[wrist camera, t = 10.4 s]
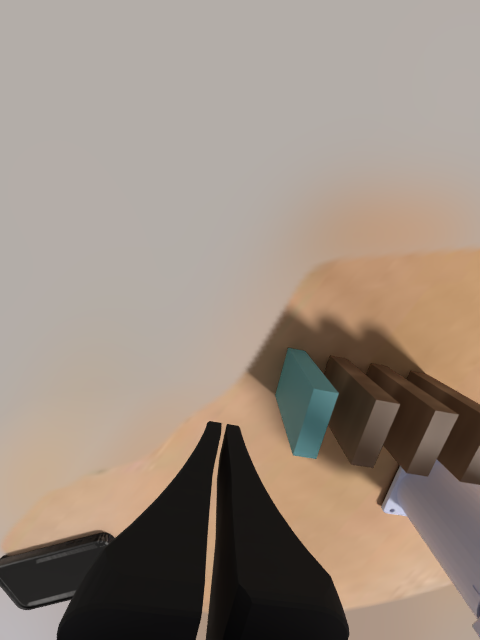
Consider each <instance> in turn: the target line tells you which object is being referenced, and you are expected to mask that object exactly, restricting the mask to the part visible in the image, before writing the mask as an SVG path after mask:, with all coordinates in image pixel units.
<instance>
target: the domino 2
mask: <svg viewBox="0 0 480 640" xmlns="http://www.w3.org/2000/svg"><path fill="white" fill-rule="evenodd" d="M366 376H368V377H369V378H370V379H371V380H372V381H373V382H375V383H376V384H377V385H378V386H379V387H381V388H382V389H383V390H384V391H385V392H387V393H388V394H389V395H390V396H391V397H392V398H394V399H395V400H396V401H397V402H398V403H400V406H399V408H398V411H397V413H396V416H395V418H394V420H393V423H392V425H391V427H390V430H389V432H388V434H387V437H386V439H385V442H384V444H383V445H384V447H385V448H386V449H387V450H388V451H389V453H390V454H391V455H392V456H393V458H394V459H395V460H396V461H397V462H398V464H399V465H400V466H401V467H402V469H403V470H404V471H405V472H406V473H408V474H414V475H421V476H427V477H428V476H429V474H430V472H431V470H432V468H433V466H434V464H435V462H436V460H437V458H438V456H439V454H440V452H441V450H442V448H443V446H444V444H445V442H446V440H447V438H448V436H449V434H450V432H451V430H452V428H453V426H454V424H455V422H456V420H457V418H458V416H459V414H457V413H456V412H454V411H453V410H451V409H450V408H448V407H447V406H445V405H444V404H442V403H441V402H439V401H438V400H436V399H435V398H433V397H432V396H430V395H429V394H427V393H426V392H424V391H423V390H421V389H420V388H418V387H417V386H415V385H414V384H412V383H411V382H409V381H408V380H406V379H405V378H403V377H402V376H400V375H399V374H397V373H396V372H394V371H393V370H391V369H390V368H388V367H387V366H382V365H377V364H372V363H371V364H370V367H369V369H368V372H367V375H366Z"/></svg>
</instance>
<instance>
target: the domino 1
mask: <svg viewBox="0 0 480 640" xmlns="http://www.w3.org/2000/svg"><path fill="white" fill-rule="evenodd" d="M324 375H325V377H326V378H327V379H328V380H329V382H330V383H331V384H332V385H333V387H334V388H335V389H336V390H337V392H338V393H339V394H338V397H337V400H336V403H335V406H334V409H333V412H332V415H331V417H330V420H329V423H328V425H329V427H330V429H331V431H332V432H333V434H334V436H335V438H336V439H337V441H338V443H339V445H340V446H341V448H342V450H343V451H344V453H345V455H346V457H347V458H348V460H349V462H350V464H352V465H358V466H364V467H371V468H373V467H374V465H375V463H376V460H377V458H378V456H379V453H380V451H381V449H382V446H383V444H384V442H385V439H386V437H387V434H388V432H389V430H390V427H391V425H392V423H393V420H394V418H395V416H396V413H397V411H398V408H399V406H400V403H398V402H397V401H396V400H395V399H394V398H392V397H391V396H390V395H389V394H388V393H387V392H385V391H384V390H383V389H382V388H381V387H379V386H378V385H377V384H376V383H375V382H373V381H372V380H371V379H370V378H369V377H368V376H366V375H365V374H364V373H363V372H362V371H360V370H359V369H358V368H357V367H356V366H355V365H353V364H352V363H351V362H350V361H349V360H347V359H345V358H340V357H335V356H330V358H329V361H328V364H327V367H326V370H325V373H324Z"/></svg>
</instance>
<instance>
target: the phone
mask: <svg viewBox="0 0 480 640" xmlns="http://www.w3.org/2000/svg"><path fill="white" fill-rule="evenodd" d="M114 539H115V538H114V537H113V536H112V535H111V534H108V533H99V534H95V535H92V536H88V537H84V538H80V539H76V540H72V541H68V542H64V543H61V544H57V545H53V546H49V547H45V548H41V549H37V550H33V551H30V552H26V553H22V554H18V555H14V556H8V555H4V556H2V557H1V558H0V586H1V588H2V589H3V590H4V591H5V592H6V594H7V595H8V596H9V597H10V598H11V600H12V601H13V602H14V603H15V604H16V606H17V607H19V608H20V609H23V610H31V609H35V608H39V607H43V606H47V605H51V604H55V603H59V602H63V601H67V600H71V599H72V597H73V595H74V593H75V592H76V590H77V588H78V587H79V585H80V583H81V581H82V580H83V578H84V576H85V575H86V573H87V572H88V570H89V569H90V567H91V566H92V564H93V563H94V561H95V560H96V558H97V557H98V556H99V554H100V553H101V551H102V550H103V549H104V547H105V546H107V545H108V544H109V543H110V542H111V541H112V540H114Z"/></svg>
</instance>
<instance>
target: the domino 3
mask: <svg viewBox="0 0 480 640" xmlns="http://www.w3.org/2000/svg"><path fill="white" fill-rule="evenodd" d="M407 380H408V381H409V382H411V383H412V384H414V385H415V386H417V387H418V388H420V389H421V390H423V391H424V392H426V393H427V394H429V395H430V396H432V397H433V398H435V399H436V400H438V401H439V402H441V403H442V404H444V405H445V406H447V407H448V408H450V409H451V410H453V411H454V412H456V413H457V414H459V416H458V418H457V420H456V422H455V424H454V426H453V428H452V430H451V432H450V434H449V436H448V438H447V440H446V442H445V444H444V446H443V448H442V450H441V452H440V454H439V456H438V458H437V460H438V461H439V462H440V463H441V464H442V465H443V466H444V467H445V468H446V469H447V470H448V471H449V472H450V473H451V474H452V475H453V476H454V477H456V478H457V479H458V480H459V481H460V482H464V483H471V484H477V485H480V404H478V403H476V402H475V401H473V400H471V399H469V398H468V397H466V396H464V395H462V394H461V393H459V392H457V391H455V390H454V389H452V388H450V387H448V386H447V385H445V384H443V383H441V382H439V381H438V380H436V379H434V378H432V377H431V376H429V375H427V374H424V373H419V372H414V371H410V373H409V375H408V378H407Z"/></svg>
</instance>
